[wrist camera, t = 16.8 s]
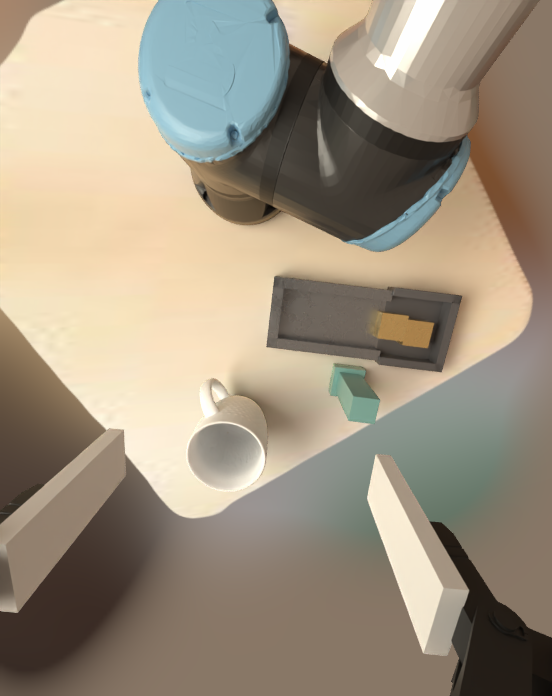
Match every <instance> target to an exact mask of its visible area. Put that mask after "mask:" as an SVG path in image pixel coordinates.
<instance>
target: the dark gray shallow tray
mask: <svg viewBox="0 0 552 696" xmlns="http://www.w3.org/2000/svg"><path fill="white" fill-rule="evenodd" d="M392 295H393V291H391V290H383V289H375V288H367V287H358V286H350V285H342V284H334V283H326V282H318V281H309V280H301V279H293V278H285V277H277V276H275V277H274V285H273V294H272V303H271V312H270V320H269V329H268V338H267V347H271V348H279V349H287V350H295V351H304V352H312V353H320V354H328V355H336V356H345V357H353V358H361V359H369V360H378V361H379V356H380V352H381V351H380V350H379V349H377V344H378V340H379V338H376V337H375V336H373V331H374V326H375V322H376V317H377V312H378V311H383V312H384V311H385V306H386V301H391V300H392Z"/></svg>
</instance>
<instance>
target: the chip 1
mask: <svg viewBox="0 0 552 696" xmlns="http://www.w3.org/2000/svg"><path fill="white" fill-rule="evenodd" d="M408 318H409V316H407V315H404V314H399V313H391V312H383V311H378V312H377V317H376V322H375V326H374V331H373V336H375V337H376V338H379V339H387V340H394V341H402V342H403V340H404V336H405V331H406V327H407V323H408Z"/></svg>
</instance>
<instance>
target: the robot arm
mask: <svg viewBox="0 0 552 696" xmlns="http://www.w3.org/2000/svg"><path fill="white" fill-rule="evenodd" d="M539 1H540V0H372V3H371V5H370V8H369V11H368V14H367V15H366V17H365V18H364V19H363V20H361V21H360V22H358V23H356V24H355V25H353V26H352V27H350V28H349V29H347V30H345V31H344V32H342V33H341V34H340V35H339V36H338V37H337V39H336V40H335V42H334V44H333V47H332V50H331V54H330V57H329V60H328V63H325V62H324V61H322V60H320V59H318V58H316V57H314V56H312V55H310V54H308V53H306V52H304V51H303V50H301V49H299V48H297V47H295V46H293V45H291V44H289V40H288V35H287V32H286V29H285V26H284V24H283V22H282V20H281V18H280V17H279V15H278V11H277V8H276V6H275V4H274V3H273V1H272V0H159V1H158V2H157V3H156V5H155V7H154V8H153V10H152V12H151V14H150V16H149V18H148V20H147V22H146V25H145V28H144V31H143V34H142V38H141V42H140V49H139V58H138V72H139V82H140V88H141V92H142V96H143V99H144V102H145V104H146V107H147V109H148V112H149V114H150V116H151V118H152V119H153V121H154V123H155V124H156V126H157V128H158V130H159V132H160V134H161V136H162V137H163V138H164V139H165V141H166V143H167V144H168V145H170V147H171V148H172V149H173V150H174V151H176V152H177V153H178V154H179V155H180V156H181V158H182V159H183V160H184V161H185V162H186V163H187V164H188V165H189V167H190V168H191V174H192V178H193V182H194V184H195V187H196V189H197V191H198V193H199V195H200V197H201V198H202V200H203V201H204V202H205V204H206V205H207V206H208V207H209V208H210V209H211V210H212V211H213V212H214V213H216V214H217V215H218V216H220V217H221V218H223V219H225V220H227V221H229V222H232V223H235V224H240V225H254V224H259V223H262V222H265V221H267V220H269V219H271V218H272V217H274V216H275V215H276V214H278V213H279V212H280V211H283V212H285V213H287V214H289V215H292V216H294V217H296V218H298V219H300V220H302V221H304V222H306V223H308V224H310V225H312V226H314V227H316V228H318V229H321V230H323V231H325V232H327V233H329V234H331V235H333V236H335V237H337V238H339V239H341V240H342V241H343V242H346V243H348V244H355V245H357V246H360V247H362V248H365V249H367V250H370V251H375V252H382V251H386V250H390V249H392V248H394V247H396V246H398V245H400V244H401V243H403V242H404V241H406V240H407V239H408V238H410V237H411V236H412V235H413V234H415V233H416V232H417V231H418V230H419V229H420V228H421V227H422V226H423V225H424V224H425V223H426V222H427V221H428V220H429V219H430V218H431V217H432V216H433V215H434V213H435V212H436V211H437V210H438V209H439V207H440V206H441V201H442V199H443V198H444V197H445V196H446V195H447V194H449V193H450V192H451V191H452V190H453V188H454V186H455V185H456V183H457V182H458V180H459V179H460V177H461V175H462V173H463V171H464V169H465V167H466V164H467V162H468V159H469V155H470V144H471V142H470V140H469V139H468V137H467V134H468V133H469V132H470V130H471V129H472V128H473V126H474V125H475V123H476V122H477V119H478V113H479V85H480V81H481V80H482V78H483V77H484V76H485V74H486V73H487V72H488V70H489V69H490V68H491V66H492V65H493V63H494V62H495V61H496V59H497V58H498V57H499V55H500V54H501V53H502V51H503V50H504V48H505V47H506V46H507V44H508V43H509V42H510V40H511V39H512V38H513V36H514V35H515V33H516V32H517V31H518V29H519V28H520V27H521V25H522V24H523V23H524V21H525V20H526V18H527V17H528V16H529V14H530V13H531V11H532V10H533V9H534V7H535V6H536V5H537V3H538V2H539ZM125 476H126V468H125V446H124V430H120V429H110V428H109V429H108V430H107V431H106V432H105V433H103V434H102V435H101V436H100V437H99V438H98V439H97V440H95V441H94V442H93V443H92V444H91V445H90V446H89V447H88V448H86V449H85V450H84V451H83V452H82V453H81V454H80V455H78V456H77V457H76V458H75V459H74V460H73V461H72V462H71V463H69V464H68V465H67V466H66V467H65V468H64V469H63V470H61V471H60V472H59V473H58V474H57V475H56V476H55V477H53V478H52V479H51V480H50V481H49V482H48V483H47V484H46V485H42V484H37V485H35V486H33V487H31V488H29V489H28V490H26V491H24V492H22V493H21V494H20V495H18V496H17V497H16V498H15V499H14V500H13V501H11V502H10V503H9V505H7V506H5V507H4V508H3V509H2V510H0V611H6V612H16V613H17V612H18V611H19V610H20V609H21V608H22V606H23V605H24V604H25V602H26V601H27V600H28V599H29V597H30V596H31V595H32V594H33V592H34V591H35V590H36V589H37V587H38V586H39V585H40V584H41V582H42V581H43V580H44V578H45V577H46V576H47V575H48V573H49V572H50V571H51V569H52V568H53V567H54V566H55V565H56V563H57V562H58V561H59V559H60V558H61V557H62V556H63V554H64V553H65V552H66V551H67V549H68V548H69V547H70V545H71V544H72V543H73V542H74V540H75V539H76V538H77V537H78V535H79V534H80V533H81V532H82V530H83V529H84V528H85V526H86V525H87V524H88V523H89V521H90V520H91V519H92V518H93V516H94V515H95V514H96V512H97V511H98V510H99V509H100V507H101V506H102V505H103V504H104V502H105V501H106V500H107V499H108V497H109V496H110V495H111V493H112V492H113V491H114V490H115V488H116V487H117V486H118V484H119V483H120V482H121V481H122V479H123V478H124V477H125ZM367 500H368V503H369V505H370V508H371V511H372V514H373V516H374V519H375V522H376V525H377V527H378V530H379V533H380V536H381V538H382V541H383V544H384V546H385V549H386V552H387V555H388V557H389V560H390V563H391V566H392V568H393V571H394V574H395V577H396V579H397V582H398V585H399V588H400V590H401V593H402V596H403V599H404V601H405V604H406V607H407V610H408V612H409V615H410V618H411V621H412V623H413V626H414V629H415V632H416V634H417V637H418V640H419V642H420V645H421V648H422V651H423V653H424V654H433V655H444V656H447V655H448V653H449V649H450V647H451V644H452V643H453V645H454V648H455V650H456V652H457V654H458V657H459V660H458V663H457V666H456V669H455V672H454V675H453V678H452V681H451V682H452V683H453V685H452V689H451V693H450V696H552V638H551V637H549V636H546V635H544V634H541V633H539V632H536V631H534V630H532V629H530V628H528V627H527V626H526V624H525V623H524V622H523V621H522V620H521V618H520V617H519V616H518V615H517V614H516V613H515V612H513V611H512V610H511V609H510V608H508V607H507V606H505V605H503V604H502V603H500V602H498V601H497V600H496V599H495V597H494V596H493V594H492V593H491V591H490V590H489V588H488V587H487V585H486V584H485V582H484V580H483V579H482V577H481V576H480V574H479V573H478V571H477V570H476V568H475V566H474V565H473V563H472V562H471V561H470V560H469V559H468V556H467V554H466V553H465V551H464V549H462V547H461V545H460V543H459V542H458V540H457V539H456V537H455V536H454V534H453V533H452V532H451V531H450V530H449V529H448V528H447V527H446V526H445V525H443V524H442V523H440V522H430V521H429V520H428V519H427V517H426V515H425V514H424V512H423V510H422V508H421V507H420V505H419V503H418V502H417V500H416V498H415V496H414V495H413V493H412V491H411V489H410V488H409V486H408V484H407V483H406V481H405V479H404V477H403V476H402V474H401V472H400V471H399V469H398V467H397V465H396V464H395V462H394V460H393V459H392V457H391V456H390V455H380V454H376V456H375V462H374V466H373V471H372V477H371V482H370V487H369V492H368V497H367Z"/></svg>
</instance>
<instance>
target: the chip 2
mask: <svg viewBox="0 0 552 696" xmlns="http://www.w3.org/2000/svg"><path fill="white" fill-rule="evenodd" d="M433 326H434V323H433V322H429V321H426V320H418V319H410V318H408V323H407V327H406V331H405V336H404V340H403V342H402V341H396V342H398V343H399V344H401V345H405V346H413V347H421V348H428V346H429V342H430V338H431V334H432V330H433Z"/></svg>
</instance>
